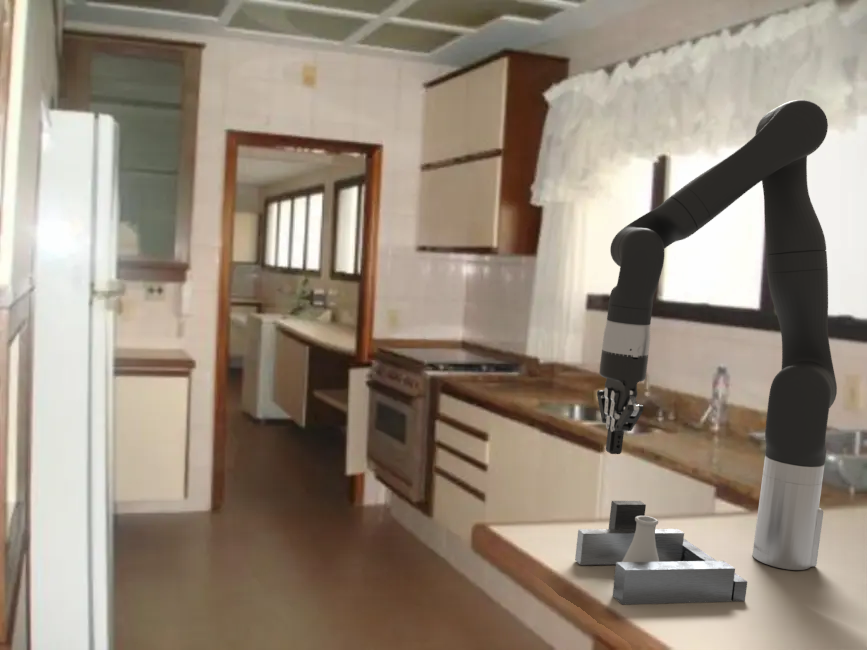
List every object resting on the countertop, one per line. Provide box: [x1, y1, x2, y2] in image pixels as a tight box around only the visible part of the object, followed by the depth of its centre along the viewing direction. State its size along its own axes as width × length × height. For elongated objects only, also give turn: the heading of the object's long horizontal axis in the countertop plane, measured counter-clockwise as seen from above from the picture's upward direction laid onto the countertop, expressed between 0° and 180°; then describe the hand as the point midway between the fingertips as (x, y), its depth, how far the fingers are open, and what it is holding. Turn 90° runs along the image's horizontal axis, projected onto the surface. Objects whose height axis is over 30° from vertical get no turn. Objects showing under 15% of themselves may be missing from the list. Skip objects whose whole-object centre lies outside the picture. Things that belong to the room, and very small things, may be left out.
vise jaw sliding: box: [574, 500, 685, 566], centre depth 151 cm, size 17×4×9 cm, turn 105°
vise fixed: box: [612, 538, 748, 605], centre depth 145 cm, size 20×19×5 cm
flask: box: [613, 515, 659, 578], centre depth 142 cm, size 7×7×10 cm
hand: (613, 452), depth 158 cm, fingers closed
